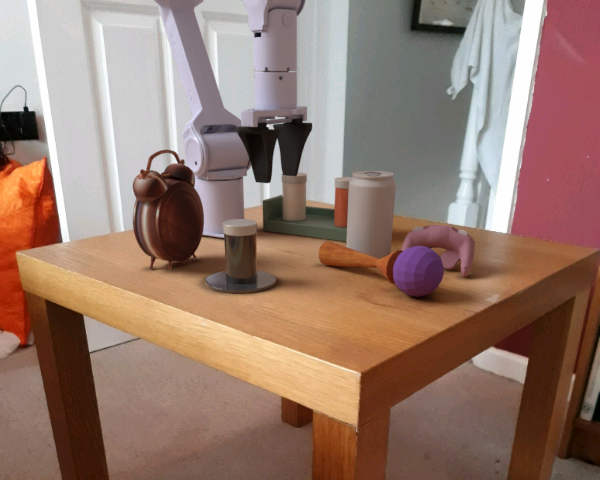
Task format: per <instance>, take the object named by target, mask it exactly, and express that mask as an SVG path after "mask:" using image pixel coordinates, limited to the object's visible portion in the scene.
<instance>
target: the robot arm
mask: <svg viewBox="0 0 600 480" xmlns="http://www.w3.org/2000/svg"><path fill="white" fill-rule="evenodd" d="M153 1H154V2H155V3H156V4H157V7H158V8H157V9H158V12H159V15H160V19H161V22H162V26H163V27H164V32H165V34H166V37H167V41H168V44H169V47H170V50H171V53H172V56H173V60H174V63H175V67H176V70H177V73H178V76H179V80H180V82H181V85H182V89H183V92H184V94H185V95H184V96H185V99H186V101H187V104H188V107H189V111H190V115H191V118H190V119H189V121H188V122H187V123H186V124H185V126H184V128H183V130H182V133H181V137H182V142H183V147H184V148H183V149H184V160H185V163H186V166H187V167H189V168H190V169H191V170H192V171H193V173H194V175H195V187H194V188H195V190H196V191H197V192H198V194H199V196H200V199H201V202H202V206H203V212H204V228H203V234H202V236H206V237H213V238H218V239H219V238H220V239H224V233H223V222H224V221H227V220H232V219H246V218H245V217H246V216H245V192H244V191H245V189H244V177H248V171H249V170H250V169H251V170H252V174H253V178H254V181H255V183H261V184H270V183H271V182H272V177H273V165H274V153H275V150H276V149H275V148H276V143H278V149H279V156H280V157H279V158H280V166H281V167H280V169H281V174H283V175H286V176H297V174H298V173H299V169H300V164H301V160H302V156H303V152H304V149H305V146H306V143H307V140H308V138H309V136H310V134H311V132H312V131H313V122H306V121H308V106H306V105H305V106H304V105H298V77H297V76H298V17H299V15H300V14H301V13H302V11H303V10H304V8H305V4H306V1H307V0H241V1H242V2H243V6H244V8H245V9H244V10H245V11H246V14H247V21H248V22H247V23H248V27H249V31H250V32H252V46H253V47H252V48H253V51H252V52H253V83H254V107H252V108H249V109H242V110H240V117H238V116H236V114H234V113H232V112H231V111H229V110H228V109H227V108H226V107H225V106H224V103H223V100H222V95H221V92H220V89H219V87H218V83H217V80H216V76H215V74H214V71H213V67H212V64H211V61H210V58H209V54H208V52H207V48H206V45H205V41H204V39H203V35H202V31H201V29H200V26H199V23H198V19H197V16H196V12H195V8H196V7H198V6H199V5H201V4H203V2H204V0H153ZM276 117H277V118H276ZM269 125H272V128H273V129H272V128H270V127H269Z"/></svg>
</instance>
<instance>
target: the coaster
mask: <svg viewBox="0 0 600 480" xmlns="http://www.w3.org/2000/svg"><path fill="white" fill-rule="evenodd" d="M276 283H277V279H276V276H275V275H273V274H272V273H270V272H266V271H263V270H257V281H255V282H253V283H248V284H234V283H230V282H228V281H227V280H226V270H223V271H219V272H215V273H212V274H210V275H209V276H207V277H205V286H206V287H207V288H208V289H210V290H213V291H216V292H221V293H226V294H227V293H228V294H249V293H251V294H252V293H258V292H262V291H265V290H268V289H271V288H272V287H274V286H275V285H276Z"/></svg>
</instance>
